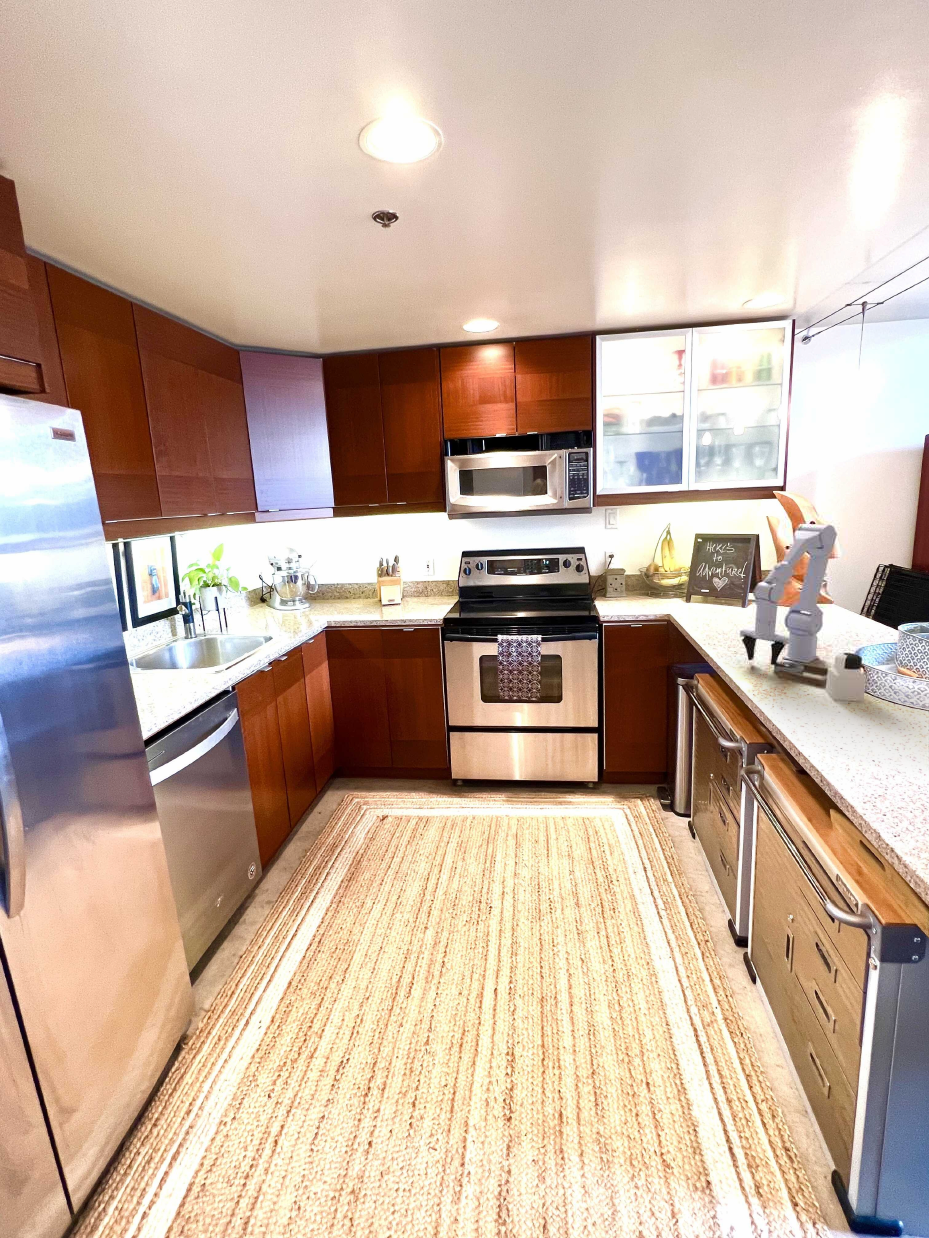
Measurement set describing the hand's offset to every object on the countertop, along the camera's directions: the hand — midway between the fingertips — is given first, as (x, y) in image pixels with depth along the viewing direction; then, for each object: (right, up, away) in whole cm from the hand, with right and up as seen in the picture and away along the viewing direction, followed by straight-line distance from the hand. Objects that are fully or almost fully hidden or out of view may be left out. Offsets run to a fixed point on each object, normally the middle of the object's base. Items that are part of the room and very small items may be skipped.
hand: (762, 661), depth 185 cm
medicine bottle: (+9, -8, -26) cm, 29 cm away
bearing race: (+5, -3, -6) cm, 8 cm away
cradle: (+9, -4, -10) cm, 14 cm away
